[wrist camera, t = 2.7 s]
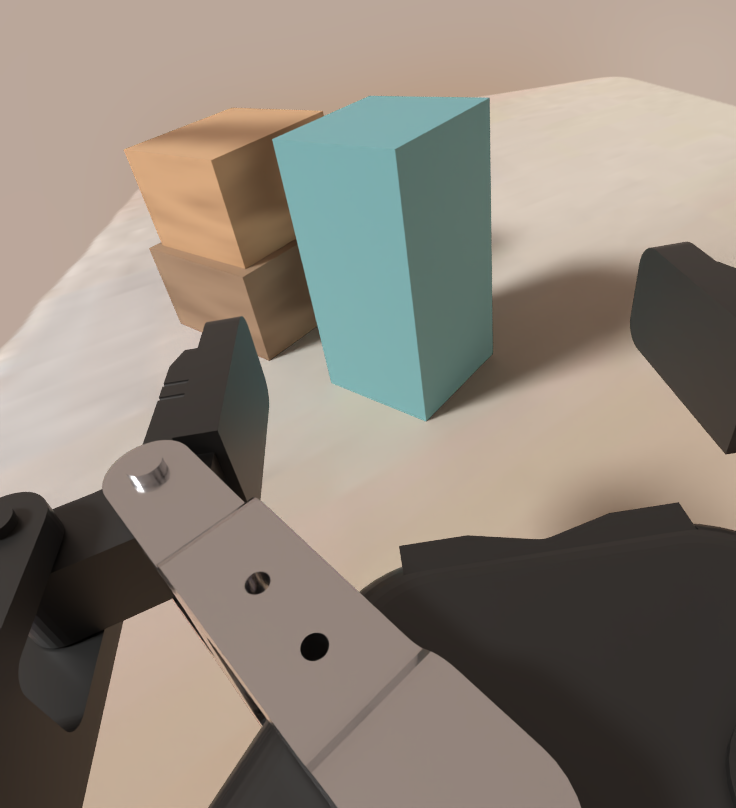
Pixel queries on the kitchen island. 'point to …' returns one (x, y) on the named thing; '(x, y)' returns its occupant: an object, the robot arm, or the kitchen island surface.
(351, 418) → the kitchen island surface
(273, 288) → the walnut base block
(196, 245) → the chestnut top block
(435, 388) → the teal pillar
